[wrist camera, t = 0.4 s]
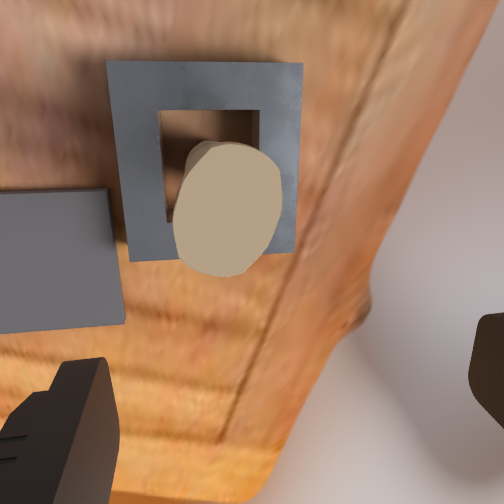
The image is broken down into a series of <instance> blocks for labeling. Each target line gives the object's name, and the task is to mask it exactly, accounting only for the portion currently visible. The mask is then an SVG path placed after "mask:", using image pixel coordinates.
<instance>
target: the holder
mask: <svg viewBox="0 0 504 504" xmlns="http://www.w3.org/2000/svg"><path fill="white" fill-rule="evenodd" d="M105 62H106V70H107V78H108V87H109V95H110V103H111V111H112V120H113V128H114V136H115V144H116V153H117V161H118V169H119V177H120V185H121V194H122V202H123V210H124V218H125V227H126V235H127V243H128V251H129V260H130V262H138V261H155V260H173V259H180V258H179V256H178V251H177V247H176V242H175V237H174V232H173V210H168V203H167V190H166V177H165V164H164V151H163V138H162V126H161V113H160V110H252V147H253V148H256V149H258V150H259V151H261V152H262V153H264V154H265V155H267V156H268V157H269V158H270V159H271V160H272V161H273V162H274V163H275V164H276V165H277V167H278V168H279V170H280V176H281V186H282V210H281V214H280V218H279V221H278V223H277V226H276V229H275V232H274V234H273V237H272V239H271V241H270V243H269V245H268V247H267V248H266V249H265V251H264V252H263V253H262V254H275V253H292V252H294V251H295V230H296V209H297V188H298V167H299V146H300V125H301V104H302V83H303V63H271V62H192V61H113V60H105Z"/></svg>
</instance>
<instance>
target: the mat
mask: <svg viewBox="0 0 504 504" xmlns="http://www.w3.org/2000/svg"><path fill="white" fill-rule="evenodd" d="M125 320H126V316H125V308H124V301H123V293H122V286H121V278H120V271H119V263H118V256H117V248H116V241H115V233H114V226H113V218H112V211H111V203H110V196H109V188H89V189H58V190H27V191H0V334H9V333H21V332H33V331H46V330H58V329H71V328H83V327H96V326H108V325H120V324H125Z"/></svg>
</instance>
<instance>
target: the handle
mask: <svg viewBox="0 0 504 504" xmlns="http://www.w3.org/2000/svg"><path fill="white" fill-rule="evenodd" d="M281 210H282V186H281V176H280V170H279V168H278V167H277V165H276V164H275V163H274V162H273V161H272V160H271V159H270V158H269V157H268V156H267V155H265V154H264V153H262V152H261V151H259V150H258V149H256V148H253V147H251V146H249V145H245V144H241V143H237V142H217V141H209V140H203V141H202V142H201V143H199V144H198V145H196V146H195V147H194V148H193V149H192V150H191V151H190V153H189V155H188V157H187V160H186V164H185V174H184V176H183V178H182V181H181V184H180V187H179V190H178V194H177V198H176V201H175V205H174V210H173V232H174V237H175V242H176V247H177V251H178V256H179V258H180V259H181V260H182V261H183V262H184V263H185V264H186V265H188V266H189V267H190V268H192V269H194V270H196V271H198V272H201V273H204V274H207V275H212V276H218V277H229V276H235V275H238V274H241V273H244V272H245V271H246V270H247V269H248V268H249V267H250V266H251V265H252V264H253V263H254V262H255V261H256V260H257V259H258V258H259V257H260V256H261V255H262V253H263V252H264V251H265V249H266V248H267V247H268V245H269V243H270V241H271V239H272V237H273V234H274V232H275V229H276V226H277V223H278V221H279V218H280V214H281Z"/></svg>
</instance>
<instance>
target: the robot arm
mask: <svg viewBox="0 0 504 504" xmlns="http://www.w3.org/2000/svg"><path fill="white" fill-rule="evenodd" d="M468 379H469V385H470V388H471V391H472V393H473V395H474V397H475V398H476V400H477V401H478V402H479V403H480V404H481V405H482V407H484V409H485V410H486V411H487V412H488V413H489V414H490V415H491V416H492V417H493V418H494V419H495V420H496V421H497V422H498V423H499V424H500V425H501V426H502V427H503V429H504V313H495V314H487V315H484V316H483V317H482V318H481V319H480V320H479V322H478V326H477V331H476V336H475V341H474V346H473V351H472V357H471V361H470V366H469V372H468ZM119 440H120V429H119V418H118V413H117V408H116V403H115V398H114V393H113V387H112V382H111V377H110V372H109V367H108V363H107V361H106V359H105V358H104V357H99V358H91V359H82V360H73V361H64V362H63V363H62V364H61V365H60V367H59V369H58V371H57V374H56V376H55V378H54V380H53V382H52V384H51V386H50V388H49V390H48V391H40V392H33V393H32V394H31V395H30V396H29V397H28V398H27V399H26V400H25V401H23V402H22V403H21V404H20V405H19V406H18V407H17V408H16V409H15V410H14V411H13V412H12V413H11V414H10V415H9V417H8V419H7V420H6V422H5V424H4V426H3V428H2V429H1V431H0V504H108V503H109V498H110V493H111V488H112V482H113V477H114V472H115V467H116V462H117V457H118V451H119Z"/></svg>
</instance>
